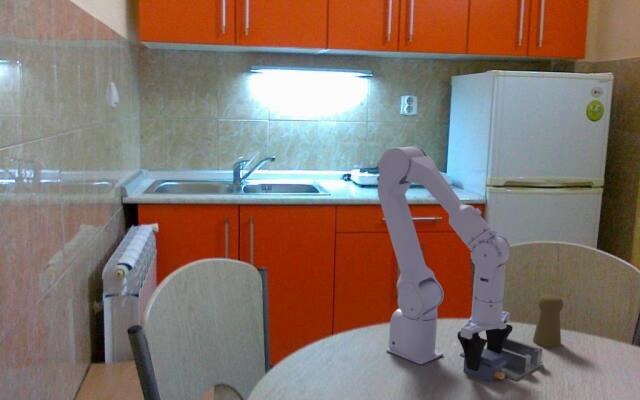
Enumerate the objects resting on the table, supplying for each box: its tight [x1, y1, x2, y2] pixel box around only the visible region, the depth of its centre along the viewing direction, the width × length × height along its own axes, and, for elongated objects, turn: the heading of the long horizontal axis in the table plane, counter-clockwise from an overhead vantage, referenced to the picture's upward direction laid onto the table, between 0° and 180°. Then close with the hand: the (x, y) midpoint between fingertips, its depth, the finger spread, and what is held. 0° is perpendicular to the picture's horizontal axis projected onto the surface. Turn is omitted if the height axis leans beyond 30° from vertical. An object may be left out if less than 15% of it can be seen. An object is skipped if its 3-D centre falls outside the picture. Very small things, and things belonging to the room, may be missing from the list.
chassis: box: [485, 337, 544, 381], centre depth 127 cm, size 11×11×4 cm
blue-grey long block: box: [459, 348, 507, 383], centre depth 121 cm, size 9×4×4 cm, turn 44°
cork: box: [532, 294, 564, 349], centre depth 138 cm, size 6×6×11 cm
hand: (483, 364), depth 121 cm, fingers open, 7 cm apart
